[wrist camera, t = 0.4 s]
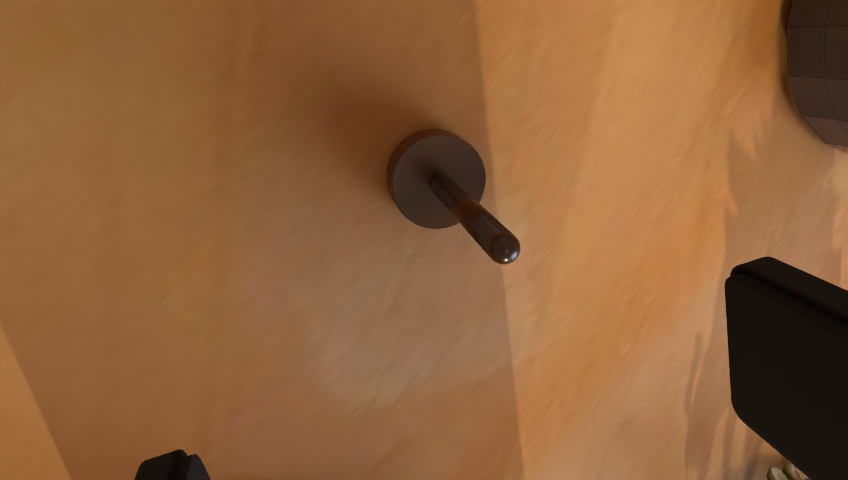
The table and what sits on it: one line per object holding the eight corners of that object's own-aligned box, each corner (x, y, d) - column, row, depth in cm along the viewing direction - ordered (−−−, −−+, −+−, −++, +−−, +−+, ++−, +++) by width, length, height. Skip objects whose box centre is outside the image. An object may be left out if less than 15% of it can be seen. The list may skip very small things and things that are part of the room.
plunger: (375, 144, 32) (422, 208, 19) (464, 117, 32) (564, 163, 20) (400, 229, 33) (457, 337, 21) (484, 203, 34) (586, 293, 22)
